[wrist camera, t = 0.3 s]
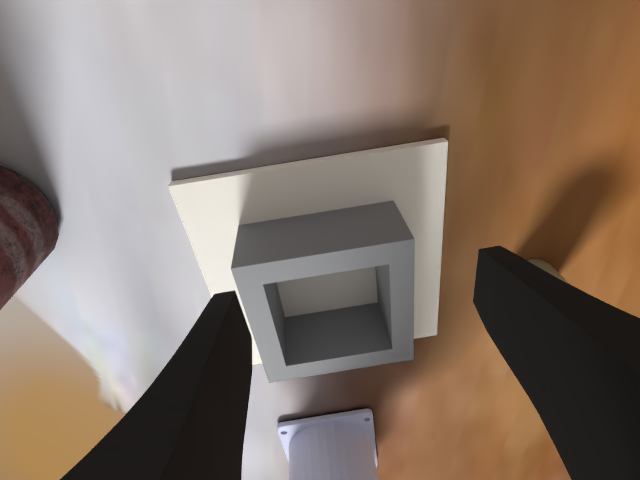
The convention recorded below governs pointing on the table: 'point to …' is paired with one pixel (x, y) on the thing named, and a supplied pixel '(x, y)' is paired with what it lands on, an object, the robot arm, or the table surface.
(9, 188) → the can
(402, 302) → the socket
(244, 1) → the table surface
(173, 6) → the table surface
